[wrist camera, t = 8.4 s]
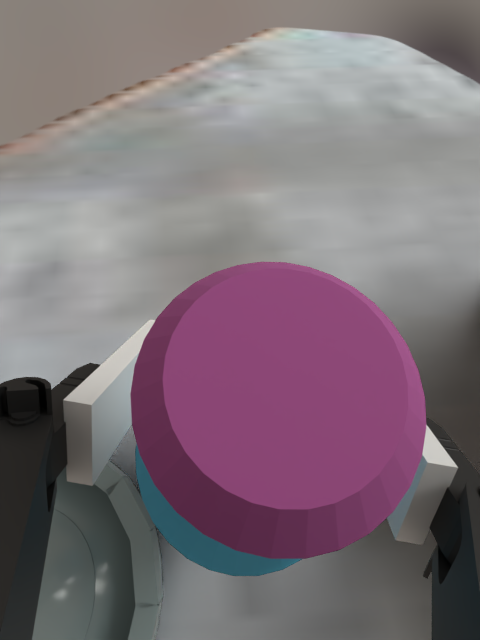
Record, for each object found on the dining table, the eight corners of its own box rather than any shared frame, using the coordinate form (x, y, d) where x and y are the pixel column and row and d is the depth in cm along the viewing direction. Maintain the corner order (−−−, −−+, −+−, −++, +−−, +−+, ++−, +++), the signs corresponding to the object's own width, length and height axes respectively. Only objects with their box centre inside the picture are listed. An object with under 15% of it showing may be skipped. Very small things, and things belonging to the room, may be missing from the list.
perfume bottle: (121, 488, 17) (-272, 527, 4) (211, 344, 21) (185, 97, 7) (280, 591, 15) (661, 1384, 2) (347, 416, 19) (637, 269, 6)
